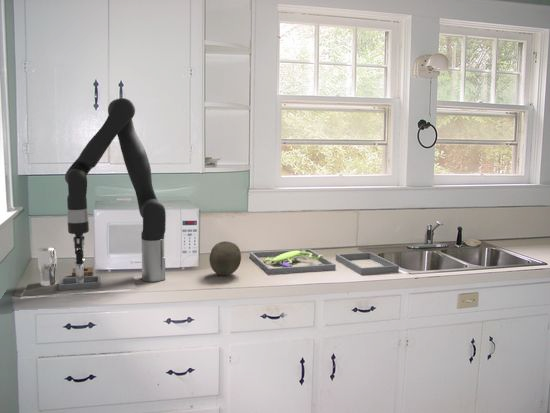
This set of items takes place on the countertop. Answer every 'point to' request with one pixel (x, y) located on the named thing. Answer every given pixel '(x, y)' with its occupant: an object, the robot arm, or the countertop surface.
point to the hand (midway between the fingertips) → (80, 261)
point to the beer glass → (47, 265)
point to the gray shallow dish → (386, 268)
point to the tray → (80, 285)
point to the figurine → (289, 257)
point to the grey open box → (327, 266)
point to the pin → (79, 271)
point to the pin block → (87, 271)
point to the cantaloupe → (225, 258)
